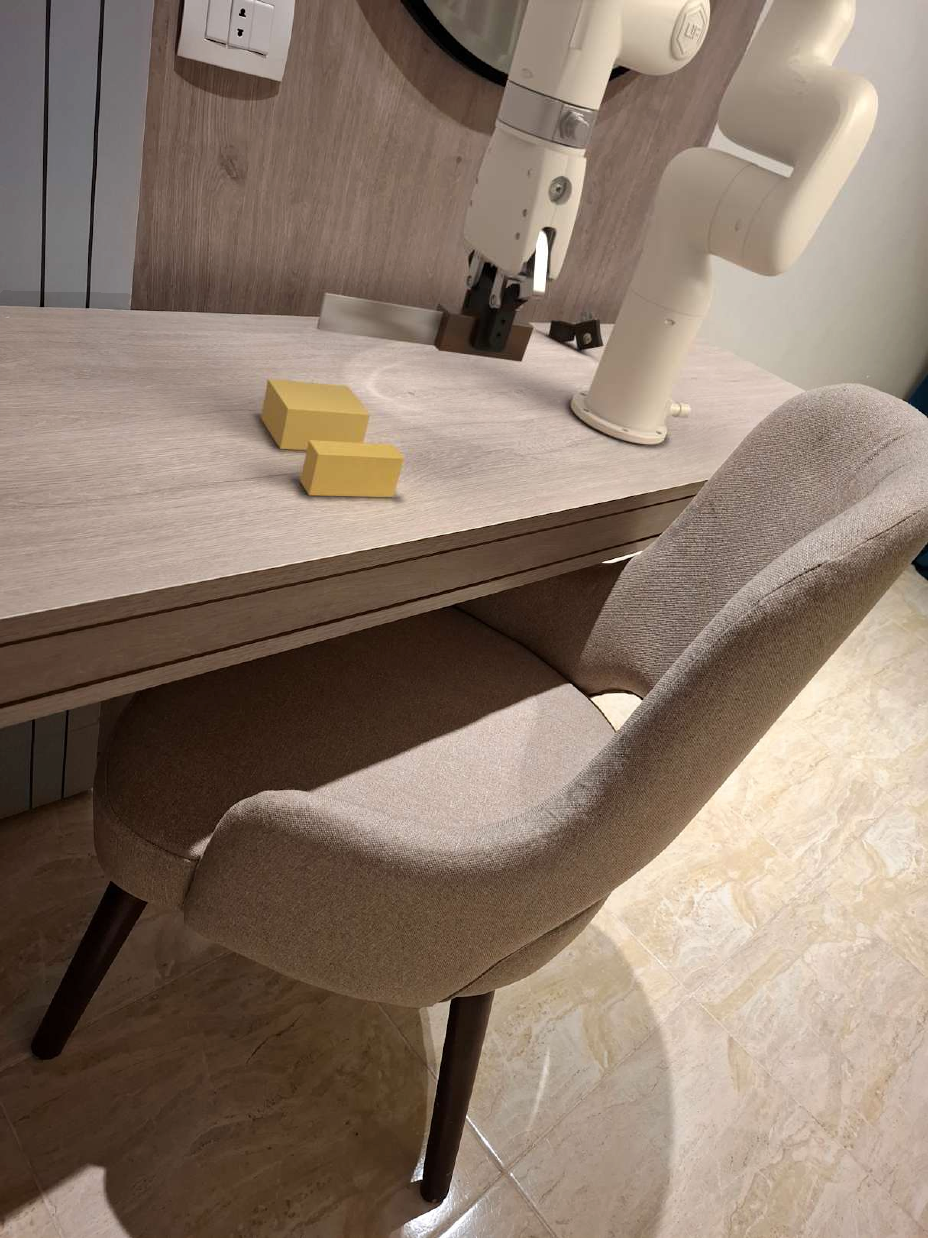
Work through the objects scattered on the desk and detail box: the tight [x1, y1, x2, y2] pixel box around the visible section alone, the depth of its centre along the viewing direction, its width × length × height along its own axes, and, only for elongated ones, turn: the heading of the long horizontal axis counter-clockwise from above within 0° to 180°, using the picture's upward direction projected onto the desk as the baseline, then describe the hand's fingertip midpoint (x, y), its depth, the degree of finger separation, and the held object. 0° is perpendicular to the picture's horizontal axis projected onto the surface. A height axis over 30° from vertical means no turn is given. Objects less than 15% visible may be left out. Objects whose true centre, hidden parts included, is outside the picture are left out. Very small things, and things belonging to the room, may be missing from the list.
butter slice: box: [299, 440, 405, 498], centre depth 78 cm, size 8×2×4 cm, turn 117°
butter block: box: [260, 378, 371, 451], centre depth 84 cm, size 8×6×4 cm
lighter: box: [548, 311, 604, 352], centre depth 134 cm, size 8×2×5 cm
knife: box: [316, 292, 535, 362], centre depth 78 cm, size 20×2×3 cm, turn 118°
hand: (479, 340), depth 82 cm, fingers closed on knife, 2 cm apart
